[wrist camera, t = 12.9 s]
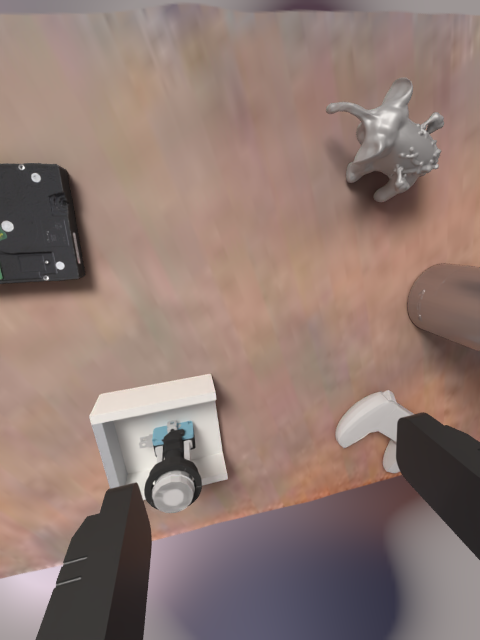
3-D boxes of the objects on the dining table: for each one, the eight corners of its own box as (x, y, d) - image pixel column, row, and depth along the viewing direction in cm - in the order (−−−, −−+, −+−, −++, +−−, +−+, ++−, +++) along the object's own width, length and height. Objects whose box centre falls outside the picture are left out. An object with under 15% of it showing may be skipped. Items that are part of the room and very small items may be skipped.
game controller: (332, 446, 40) (388, 397, 37) (321, 422, 44) (371, 376, 41) (400, 482, 45) (454, 441, 42) (385, 457, 49) (434, 418, 46)
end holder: (210, 373, 37) (215, 391, 32) (222, 453, 40) (227, 479, 36) (99, 394, 35) (89, 416, 30) (122, 476, 38) (115, 506, 34)
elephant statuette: (393, 206, 36) (448, 199, 29) (301, 192, 33) (335, 181, 26) (413, 118, 33) (478, 87, 26) (314, 96, 31) (357, 54, 24)
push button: (144, 454, 37) (133, 530, 27) (136, 417, 35) (121, 484, 26) (198, 443, 38) (206, 512, 29) (192, 407, 36) (198, 467, 27)
